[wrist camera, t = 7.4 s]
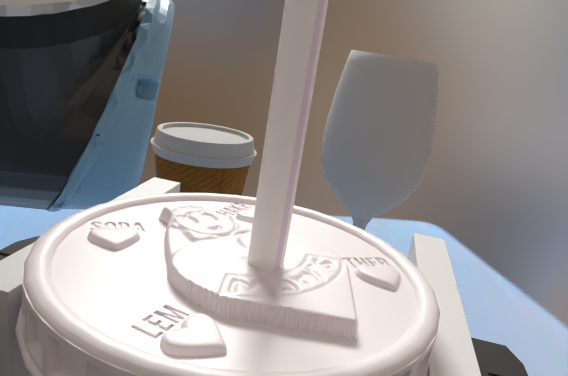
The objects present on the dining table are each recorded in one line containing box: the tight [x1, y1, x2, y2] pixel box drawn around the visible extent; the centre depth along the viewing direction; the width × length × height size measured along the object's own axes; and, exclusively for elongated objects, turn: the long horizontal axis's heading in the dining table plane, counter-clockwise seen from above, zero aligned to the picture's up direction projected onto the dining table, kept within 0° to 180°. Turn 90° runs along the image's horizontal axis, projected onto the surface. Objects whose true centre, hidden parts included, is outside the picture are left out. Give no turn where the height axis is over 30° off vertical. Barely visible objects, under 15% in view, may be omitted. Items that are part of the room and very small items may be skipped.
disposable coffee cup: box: [151, 122, 257, 196], centre depth 48 cm, size 10×10×12 cm
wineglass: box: [321, 50, 438, 230], centre depth 38 cm, size 8×8×21 cm
